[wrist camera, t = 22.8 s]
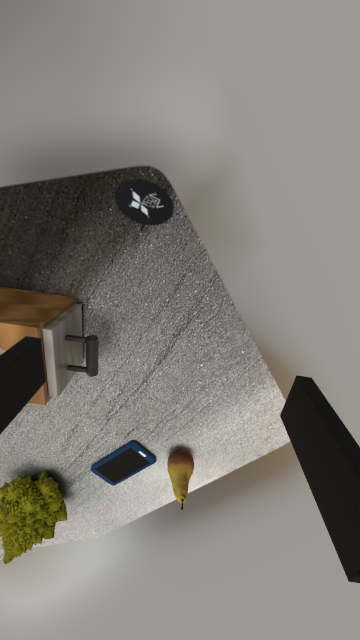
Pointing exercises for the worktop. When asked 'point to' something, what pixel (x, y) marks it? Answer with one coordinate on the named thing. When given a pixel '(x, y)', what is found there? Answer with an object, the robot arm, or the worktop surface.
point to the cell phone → (123, 463)
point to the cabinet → (29, 321)
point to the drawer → (67, 350)
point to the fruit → (180, 473)
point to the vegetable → (29, 512)
